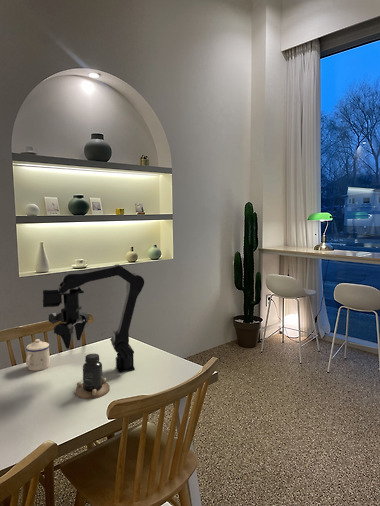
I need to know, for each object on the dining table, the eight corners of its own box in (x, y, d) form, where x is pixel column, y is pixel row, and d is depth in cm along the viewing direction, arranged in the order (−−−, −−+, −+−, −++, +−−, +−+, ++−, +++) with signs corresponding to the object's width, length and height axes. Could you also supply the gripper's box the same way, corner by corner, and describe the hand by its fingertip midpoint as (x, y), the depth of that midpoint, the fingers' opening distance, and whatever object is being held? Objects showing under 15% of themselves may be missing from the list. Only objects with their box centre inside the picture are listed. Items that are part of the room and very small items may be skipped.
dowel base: (106, 381, 149) (106, 374, 149) (112, 395, 138) (112, 388, 138) (74, 386, 145) (73, 379, 145) (77, 401, 134) (76, 394, 134)
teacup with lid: (36, 361, 169) (34, 335, 167) (55, 363, 166) (53, 336, 165) (17, 373, 157) (15, 345, 156) (37, 375, 155) (35, 346, 153)
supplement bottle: (106, 387, 142) (106, 355, 140) (90, 394, 137) (89, 361, 135) (95, 381, 146) (94, 350, 145) (79, 388, 141) (78, 355, 140)
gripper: (63, 298, 161) (65, 335, 163) (39, 310, 142) (41, 352, 144) (89, 299, 159) (90, 336, 161) (67, 311, 141) (69, 353, 142)
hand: (73, 344), depth 152 cm, fingers open, 9 cm apart
